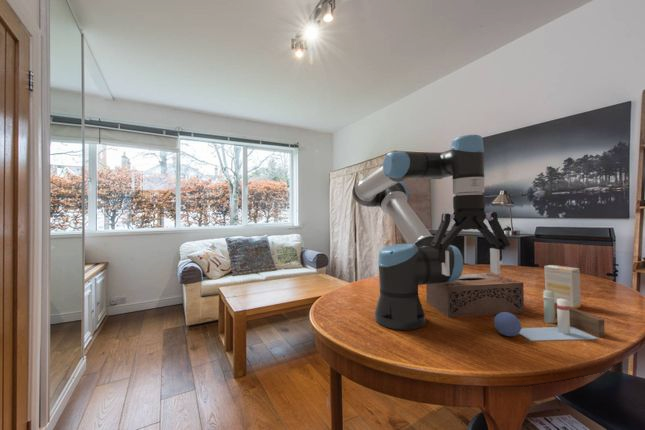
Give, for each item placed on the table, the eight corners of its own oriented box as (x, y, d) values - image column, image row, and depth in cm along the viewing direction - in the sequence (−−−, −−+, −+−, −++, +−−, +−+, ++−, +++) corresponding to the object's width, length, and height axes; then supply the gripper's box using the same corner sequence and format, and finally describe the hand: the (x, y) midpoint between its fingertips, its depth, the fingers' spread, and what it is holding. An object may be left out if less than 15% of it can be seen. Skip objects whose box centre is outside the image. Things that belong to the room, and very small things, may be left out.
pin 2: (563, 335, 70) (562, 301, 70) (555, 331, 72) (554, 298, 72) (572, 335, 70) (572, 301, 70) (564, 331, 72) (563, 298, 72)
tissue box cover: (492, 299, 101) (491, 272, 101) (524, 313, 86) (523, 282, 86) (426, 303, 99) (426, 276, 99) (448, 318, 84) (447, 286, 84)
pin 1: (548, 323, 77) (547, 292, 77) (541, 320, 80) (540, 290, 80) (557, 323, 77) (556, 292, 77) (550, 320, 80) (549, 290, 80)
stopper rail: (598, 337, 68) (598, 319, 68) (555, 317, 81) (554, 302, 81) (604, 337, 68) (604, 319, 68) (559, 317, 81) (559, 302, 81)
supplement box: (582, 307, 89) (580, 268, 89) (573, 309, 87) (572, 269, 87) (553, 300, 97) (552, 264, 97) (544, 302, 95) (543, 265, 95)
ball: (503, 340, 68) (503, 317, 68) (489, 330, 74) (488, 309, 74) (527, 340, 68) (526, 316, 68) (510, 329, 74) (510, 308, 74)
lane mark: (530, 341, 68) (530, 340, 68) (511, 329, 75) (511, 328, 75) (598, 339, 68) (598, 338, 67) (572, 327, 74) (572, 326, 74)
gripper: (428, 195, 67) (430, 279, 67) (525, 192, 68) (527, 275, 68) (417, 196, 75) (419, 272, 75) (504, 194, 75) (506, 269, 75)
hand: (470, 274), depth 71 cm, fingers open, 13 cm apart
